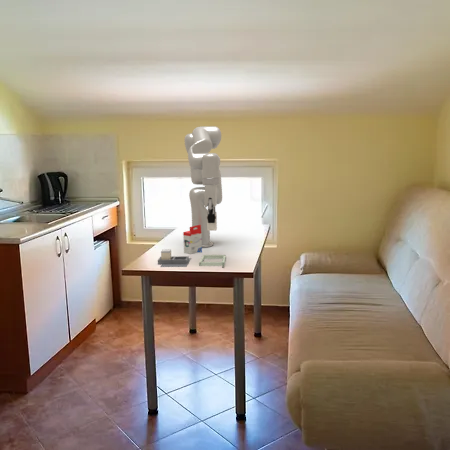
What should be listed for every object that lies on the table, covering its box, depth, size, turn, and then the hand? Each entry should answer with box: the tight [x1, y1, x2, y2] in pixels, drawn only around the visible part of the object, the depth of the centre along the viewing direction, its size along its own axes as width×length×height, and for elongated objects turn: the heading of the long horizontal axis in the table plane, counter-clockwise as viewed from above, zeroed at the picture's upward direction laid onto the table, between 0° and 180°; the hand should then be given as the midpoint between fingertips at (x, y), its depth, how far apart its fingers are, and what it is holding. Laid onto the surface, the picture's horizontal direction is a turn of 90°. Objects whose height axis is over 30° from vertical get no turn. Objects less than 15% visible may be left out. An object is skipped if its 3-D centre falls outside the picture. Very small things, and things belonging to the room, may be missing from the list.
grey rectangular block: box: [207, 211, 218, 232], centre depth 225 cm, size 4×4×8 cm
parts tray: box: [198, 254, 227, 269], centre depth 228 cm, size 14×11×2 cm
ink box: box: [182, 225, 203, 255], centre depth 248 cm, size 8×5×15 cm, turn 141°
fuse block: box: [157, 248, 192, 268], centre depth 228 cm, size 16×14×7 cm
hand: (211, 221), depth 225 cm, fingers closed on grey rectangular block, 4 cm apart
